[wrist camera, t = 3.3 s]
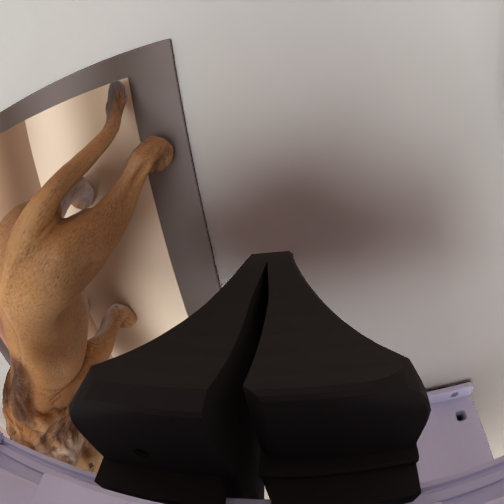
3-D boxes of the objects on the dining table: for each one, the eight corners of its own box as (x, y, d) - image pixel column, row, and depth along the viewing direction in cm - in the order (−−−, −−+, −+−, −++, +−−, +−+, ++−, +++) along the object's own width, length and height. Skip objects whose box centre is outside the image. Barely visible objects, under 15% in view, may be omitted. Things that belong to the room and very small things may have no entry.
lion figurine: (159, 377, 17) (108, 519, 9) (77, 349, 17) (8, 469, 9) (190, 87, 10) (-56, 118, 2) (65, 78, 10) (-145, 129, 2)
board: (170, 39, 9) (168, 38, 9) (246, 391, 17) (246, 394, 16) (-77, 170, 12) (-78, 171, 12) (11, 365, 20) (10, 366, 20)
